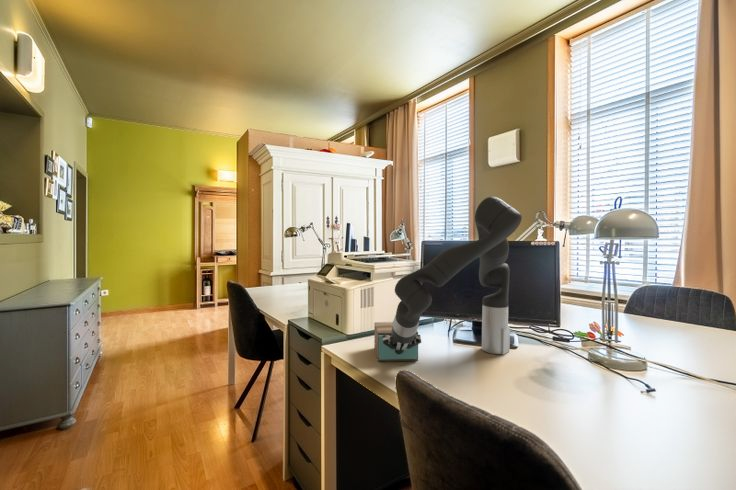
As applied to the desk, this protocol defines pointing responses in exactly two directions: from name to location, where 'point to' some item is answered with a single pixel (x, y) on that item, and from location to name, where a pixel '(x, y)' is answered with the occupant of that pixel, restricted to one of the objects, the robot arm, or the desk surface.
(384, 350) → the teal pull-out drawer
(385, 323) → the drawer box
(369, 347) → the desk surface
